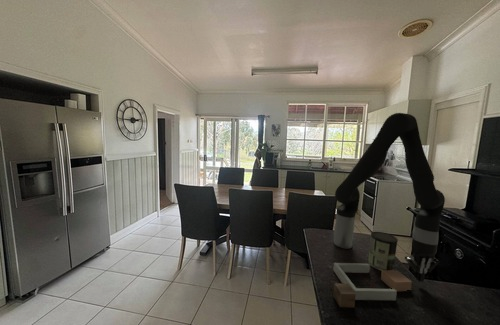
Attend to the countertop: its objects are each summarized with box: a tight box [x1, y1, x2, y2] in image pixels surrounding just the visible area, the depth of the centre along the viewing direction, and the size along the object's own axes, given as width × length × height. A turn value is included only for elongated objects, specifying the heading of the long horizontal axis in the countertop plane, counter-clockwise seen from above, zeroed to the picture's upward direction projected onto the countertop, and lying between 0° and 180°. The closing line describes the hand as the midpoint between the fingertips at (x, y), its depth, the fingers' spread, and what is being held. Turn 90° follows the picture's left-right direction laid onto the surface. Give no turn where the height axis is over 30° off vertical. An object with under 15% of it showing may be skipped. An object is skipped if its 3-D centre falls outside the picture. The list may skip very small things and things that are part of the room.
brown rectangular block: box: [380, 269, 413, 292], centre depth 81 cm, size 7×7×4 cm
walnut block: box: [332, 282, 356, 308], centre depth 71 cm, size 5×5×5 cm
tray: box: [332, 262, 398, 301], centre depth 80 cm, size 16×15×4 cm
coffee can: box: [367, 231, 398, 272], centre depth 94 cm, size 10×10×14 cm
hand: (419, 280), depth 81 cm, fingers closed
